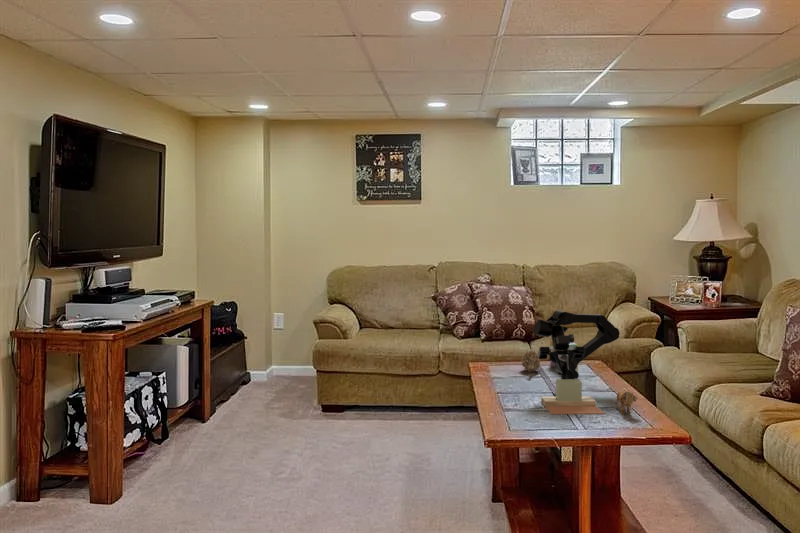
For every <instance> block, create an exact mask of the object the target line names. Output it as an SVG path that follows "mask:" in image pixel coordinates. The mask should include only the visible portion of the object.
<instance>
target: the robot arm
mask: <svg viewBox="0 0 800 533" xmlns="http://www.w3.org/2000/svg"><path fill="white" fill-rule="evenodd" d="M578 323H579V324H595V327H596V329H597V332H596V334H595V336H594V337H593V338H592V339H590V340H588V341H587V342H585V344H584V345H580V346H579V345H578V346H575V347H574V350H568V348H569V344H570V343H575V336H574V334H573V333H571V334H570V333H569V334H568V335H566V334H565V333H566V332H567V331H568V329H569V328H568V327H567V325H568V326H569V325H572V324H578ZM532 332H533V335H535V336H538V337H544V338H548V337H549V338H550V337H551V338H552V346H553V348H554V349H550V346H540V347H539V349H538V358H539V359H540V360H546V359H548V361H552V362H553V363H554V364H555V365H554V366H555V367H554V370H555V371H556V372H557V374H558V376H560V379H578V378H579V376H580V374H579V371H578V372H577V371H576V370H575V369H576V368H577V365H578V366H579V364H580V363H581V362H582V361H584V360H585V359H587V358H588V357H589V356H590V355H591V354H593V353H594V352H595V351H597V350H598V349H599V348H601V347H602V346H605V345H606V344H611V343H614V341H617V340H618V339H619V337H620V330H619V328H618V327H615V325H613V323H611V321H609V320H608V319H607V318H606V316H605V315H603V314H600V313H592V314H591V313H573V312H568V311H563V310H560V309H557V310H554V311H553V313H552V315H551V316H549V318H548V319H547V320H542V319H540V318H539V319H537V321H536V322H535V324H534V325H533V329H532ZM558 355H562V356H561V357H560V358H559V357H558ZM548 356H549V357H548Z"/></svg>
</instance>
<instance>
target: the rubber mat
mask: <svg viewBox="0 0 800 533" xmlns="http://www.w3.org/2000/svg"><path fill="white" fill-rule="evenodd" d="M545 408H546V409H547V411H548V412H549V413H550V414H551V415H605V412H603V411H602V410H601V409H600V408H599V406H597V405H596V406H546V407H545Z"/></svg>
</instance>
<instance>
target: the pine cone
mask: <svg viewBox="0 0 800 533" xmlns="http://www.w3.org/2000/svg"><path fill="white" fill-rule="evenodd" d="M521 357H522V358H521V359H520V363H521V365H522V367H523V368H524V370H526V371H528V373H532V372H536V371H538V369H539V368H541V359H539V358H538V353H537V352H536V351H534V350H529V352H528V351H526V352H525V353H523V355H522V356H521Z"/></svg>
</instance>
